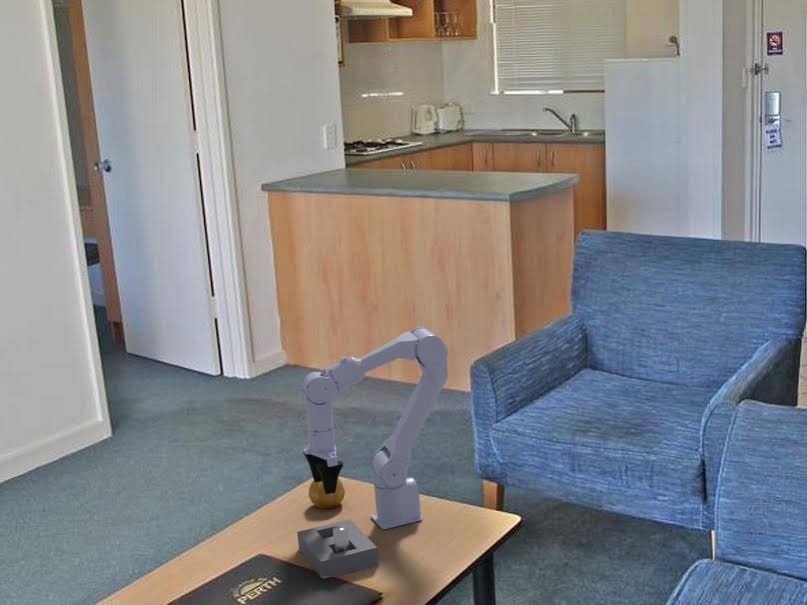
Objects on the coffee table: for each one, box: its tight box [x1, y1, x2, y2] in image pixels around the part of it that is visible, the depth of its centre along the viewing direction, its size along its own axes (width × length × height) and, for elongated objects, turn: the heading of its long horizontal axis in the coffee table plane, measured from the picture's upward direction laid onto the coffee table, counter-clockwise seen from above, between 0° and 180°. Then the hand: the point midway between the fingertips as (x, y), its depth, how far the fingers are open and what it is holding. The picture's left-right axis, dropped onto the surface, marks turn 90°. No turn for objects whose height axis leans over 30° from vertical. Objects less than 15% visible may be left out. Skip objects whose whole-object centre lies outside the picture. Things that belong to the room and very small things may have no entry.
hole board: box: [296, 518, 379, 578], centre depth 218 cm, size 12×16×4 cm
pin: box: [333, 526, 350, 554], centre depth 213 cm, size 3×3×7 cm
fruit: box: [308, 477, 346, 509], centre depth 244 cm, size 8×8×8 cm
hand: (324, 487), depth 229 cm, fingers open, 7 cm apart
